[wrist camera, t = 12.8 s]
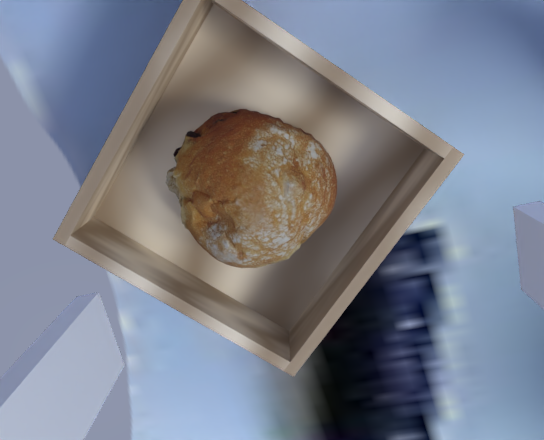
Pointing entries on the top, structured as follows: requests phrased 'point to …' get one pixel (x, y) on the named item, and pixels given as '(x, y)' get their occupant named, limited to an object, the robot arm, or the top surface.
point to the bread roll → (252, 187)
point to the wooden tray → (290, 109)
